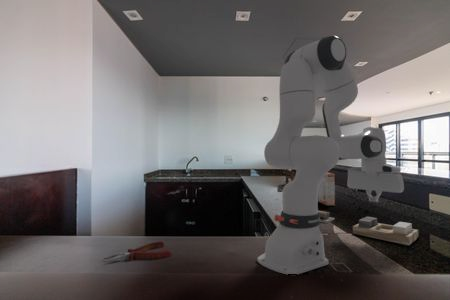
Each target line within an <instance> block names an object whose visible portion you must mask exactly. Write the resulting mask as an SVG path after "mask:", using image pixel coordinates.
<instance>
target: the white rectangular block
mask: <svg viewBox="0 0 450 300" xmlns="http://www.w3.org/2000/svg"><path fill="white" fill-rule="evenodd" d="M412 225H413V223H410V222H405V221H398V222H397V223H394V225H393V232H394V233H399V234H405V235H406V236H407V235H408V234H410V233H411V232H412V229H413V226H412Z"/></svg>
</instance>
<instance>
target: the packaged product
mask: <svg viewBox="0 0 450 300" xmlns="http://www.w3.org/2000/svg"><path fill="white" fill-rule="evenodd" d="M318 213H319V217H320V220H319V223H323V224H328V223H331V222H333V221H334V220H335V217H331V216H330V215H331V212H329V211H323V210H318Z"/></svg>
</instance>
